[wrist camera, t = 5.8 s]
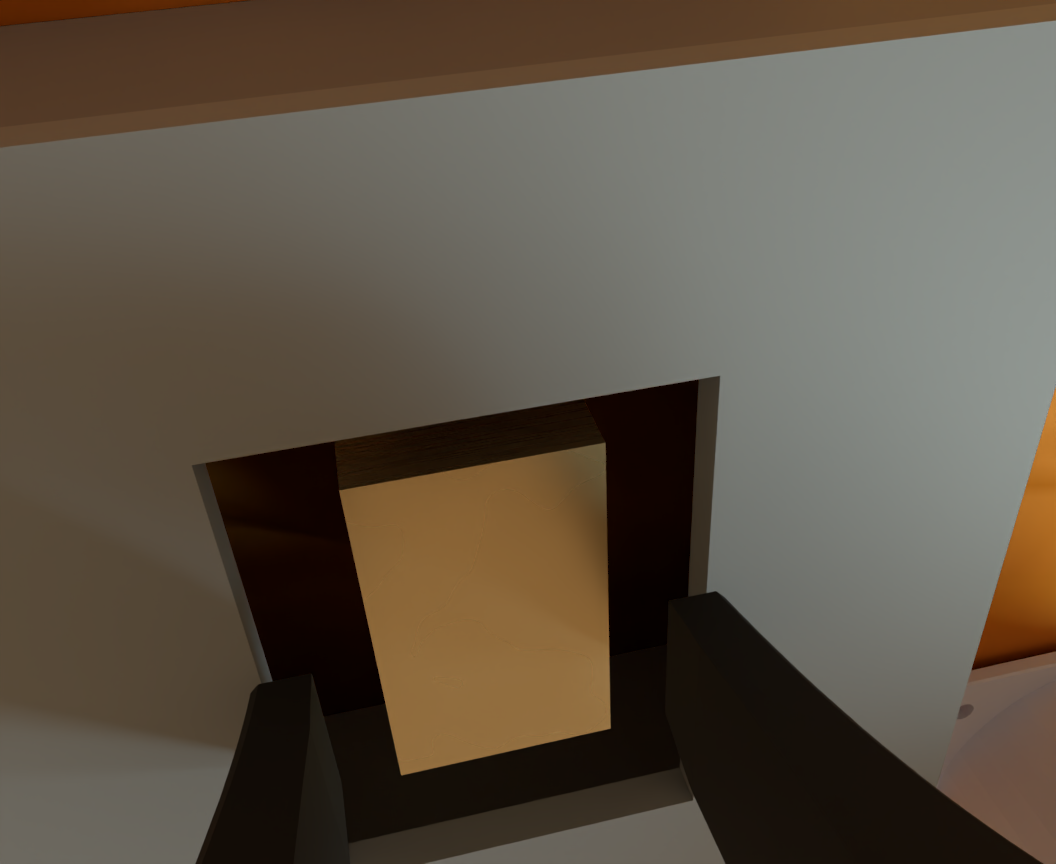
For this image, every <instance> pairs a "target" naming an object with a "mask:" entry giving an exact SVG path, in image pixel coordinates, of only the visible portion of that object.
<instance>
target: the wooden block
mask: <svg viewBox="0 0 1056 864" xmlns="http://www.w3.org/2000/svg"><path fill="white" fill-rule="evenodd" d="M334 443H335V454H336V464H337V474H338V485H339V493H340V497H341V502H342V506H343V511H344V516H345V520H346V525H347V529H348V534H349V538H350V543H351V548H352V552H353V557H354V561H355V566H356V571H357V575H358V580H359V584H360V589H361V593H362V598H363V603H364V607H365V612H366V616H367V621H368V626H369V630H370V635H371V639H372V644H373V649H374V653H375V658H376V662H377V667H378V671H379V676H380V681H381V685H382V690H383V694H384V699H385V704H386V708H387V713H388V717H389V722H390V726H391V731H392V736H393V740H394V745H395V749H396V754H397V759H398V763H399V768H400V772H401V775H405V774H410V773H414V772H419V771H423V770H428V769H432V768H437V767H441V766H446V765H450V764H455V763H459V762H464V761H468V760H472V759H477V758H481V757H486V756H490V755H495V754H499V753H504V752H508V751H513V750H517V749H522V748H526V747H531V746H535V745H540V744H544V743H548V742H553V741H557V740H562V739H566V738H571V737H575V736H580V735H584V734H589V733H593V732H598V731H602V730H607V729H611V722H610V665H609V609H608V552H607V496H606V443H605V441H604V439H603V437H602V435H601V433H600V431H599V429H598V427H597V425H596V423H595V421H594V419H593V417H592V415H591V413H590V411H589V409H588V407H587V405H586V403H585V401H584V399H579V400H574V401H568V402H562V403H556V404H550V405H544V406H538V407H532V408H526V409H520V410H515V411H509V412H503V413H497V414H491V415H485V416H479V417H473V418H467V419H462V420H456V421H450V422H444V423H438V424H432V425H426V426H420V427H414V428H409V429H403V430H397V431H391V432H385V433H379V434H373V435H367V436H361V437H355V438H350V439H344V440H338V441H334Z"/></svg>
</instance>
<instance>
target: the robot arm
mask: <svg viewBox="0 0 1056 864" xmlns="http://www.w3.org/2000/svg"><path fill="white" fill-rule="evenodd" d="M665 714H666V717H667V720H668V723H669V726H670V729H671V732H672V735H673V738H674V741H675V744H676V747H677V750H678V753H679V756H680V759H681V762H682V765H683V768H684V771H685V773H686V776H687V779H688V782H689V785H690V788H691V790H692V793H693V795H694V797H695V799H696V801H697V804H698V806H699V808H700V810H701V812H702V815H703V817H704V819H705V821H706V823H707V825H708V827H709V830H710V832H711V834H712V836H713V838H714V840H715V843H716V845H717V847H718V849H719V851H720V853H721V855H722V858H723V860H724V862H725V864H1056V651H1055V652H1050V653H1046V654H1042V655H1037V656H1033V657H1028V658H1024V659H1019V660H1015V661H1010V662H1006V663H1001V664H997V665H993V666H988V667H984V668H979V669H975V670H971V673H970V676H969V680H968V683H967V686H966V690H965V693H964V696H963V700H962V703H961V706H960V710H959V713H958V717H957V720H956V723H955V727H954V730H953V733H952V737H951V740H950V743H949V747H948V750H947V754H946V757H945V760H944V764H943V767H942V770H941V774H940V777H939V781H938V784H937V787H935V786H933V785H932V784H931V783H929V782H928V781H927V780H925V779H924V778H923V777H922V776H920V775H919V774H918V773H917V772H915V771H914V770H913V769H912V768H910V767H909V766H908V765H907V764H905V763H904V762H903V761H902V760H901V759H899V758H898V757H897V756H896V755H894V754H893V753H892V752H891V751H889V750H888V749H887V748H886V747H884V746H883V745H882V744H881V743H880V742H879V741H877V740H876V739H875V738H874V737H873V736H871V735H870V734H869V733H868V732H867V731H866V730H864V729H863V728H862V727H861V726H860V725H859V724H857V723H856V722H855V721H854V720H853V719H852V718H851V717H850V716H848V715H847V714H846V713H845V712H844V711H843V710H842V709H841V708H839V707H838V706H837V705H836V704H835V703H834V702H833V701H832V700H830V699H829V698H828V697H827V696H826V695H825V694H824V693H823V692H821V691H820V690H819V689H818V688H817V687H816V686H815V685H814V684H813V683H812V682H811V681H809V680H808V679H807V678H806V677H805V676H804V675H803V674H802V673H801V672H800V671H799V670H798V669H797V668H796V667H795V666H793V665H792V664H791V663H790V662H789V661H788V660H787V659H786V658H785V657H784V656H783V655H782V654H781V653H780V652H779V651H778V650H777V649H776V648H775V647H774V646H773V645H772V644H771V643H770V642H769V641H768V640H767V639H766V638H765V637H764V636H763V635H762V634H760V633H759V632H758V631H757V630H756V629H755V628H754V627H753V626H752V625H751V624H750V622H749V621H748V620H747V619H746V618H745V617H744V616H743V615H742V614H741V613H740V612H739V611H738V610H737V609H736V608H735V607H734V606H733V605H732V604H731V603H730V602H729V601H728V600H727V599H726V598H725V597H724V596H723V595H721V594H720V593H718V592H717V591H714V592H709V593H704V594H699V595H694V596H689V597H684V598H680V599H675V600H670V601H669V604H668V634H667V664H666V693H665ZM195 864H350V858H349V848H348V838H347V828H346V819H345V809H344V800H343V790H342V782H341V778H340V775H339V771H338V768H337V764H336V760H335V757H334V753H333V749H332V746H331V742H330V738H329V735H328V731H327V727H326V724H325V720H324V716H323V713H322V709H321V705H320V702H319V698H318V694H317V691H316V687H315V683H314V680H313V676H312V673H311V674H306V675H301V676H296V677H291V678H286V679H281V680H276V681H271V682H266V683H261V684H258V685H257V686H256V687H255V688H254V690H253V691H252V692H251V693H250V697H249V702H248V706H247V710H246V715H245V718H244V722H243V726H242V729H241V733H240V737H239V740H238V744H237V747H236V750H235V754H234V757H233V760H232V763H231V766H230V769H229V772H228V775H227V778H226V781H225V784H224V787H223V790H222V793H221V796H220V799H219V802H218V805H217V807H216V810H215V813H214V815H213V818H212V821H211V823H210V826H209V829H208V831H207V834H206V837H205V839H204V842H203V845H202V847H201V850H200V853H199V855H198V858H197V861H196V863H195Z"/></svg>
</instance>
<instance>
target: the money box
mask: <svg viewBox="0 0 1056 864" xmlns="http://www.w3.org/2000/svg"><path fill="white" fill-rule="evenodd" d="M697 379H699V384H698V405H697V425H696V445H695V466H694V486H693V506H692V527H691V547H690V567H689V588H688V597H689V596H694V595H699V594H704V593H709V592H714V591H717V592H718V593H720V594H721V595H723V596H724V597H725V598H726V599H727V600H728V601H729V602H730V603H731V604H732V605H733V606H734V607H735V608H736V609H737V610H738V611H739V612H740V613H741V614H742V615H743V616H744V617H745V618H746V619H747V620H748V621H749V622H750V624H751V625H752V626H753V627H754V628H755V629H756V630H757V631H758V632H759V633H760V634H762V635H763V636H764V637H765V638H766V639H767V640H768V641H769V642H770V643H771V644H772V645H773V646H774V647H775V648H776V649H777V650H778V651H779V652H780V653H781V654H782V655H783V656H784V657H785V658H786V659H787V660H788V661H789V662H790V663H791V664H792V665H793V666H795V667H796V668H797V669H798V670H799V671H800V672H801V673H802V674H803V675H804V676H805V677H806V678H807V679H808V680H809V681H811V682H812V683H813V684H814V685H815V686H816V687H817V688H818V689H819V690H820V691H821V692H823V693H824V694H825V695H826V696H827V697H828V698H829V699H830V700H832V701H833V702H834V703H835V704H836V705H837V706H838V707H839V708H841V709H842V710H843V711H844V712H845V713H846V714H847V715H848V716H850V717H851V718H852V719H853V720H854V721H855V722H856V723H857V724H859V725H860V726H861V727H862V728H863V729H864V730H866V731H867V732H868V733H869V734H870V735H871V736H873V737H874V738H875V739H876V740H877V741H879V742H880V743H881V744H882V745H883V746H884V747H886V748H887V749H888V750H889V751H891V752H892V753H893V754H894V755H896V756H897V757H898V758H899V759H901V760H902V761H903V762H904V763H905V764H907V765H908V766H909V767H910V768H912V769H913V770H914V771H915V772H917V773H918V774H919V775H920V776H922V777H923V778H924V779H925V780H927V781H928V782H929V783H931V784H932V785H933V786H935V787H937V784H938V781H939V777H940V774H941V770H942V767H943V764H944V760H945V757H946V754H947V750H948V747H949V743H950V740H951V737H952V733H953V730H954V727H955V723H956V720H957V717H958V713H959V710H960V706H961V703H962V700H963V696H964V693H965V690H966V686H967V683H968V680H969V676H970V673H971V669H972V666H973V663H974V659H975V656H976V653H977V649H978V646H979V642H980V639H981V636H982V632H983V629H984V626H985V622H986V619H987V616H988V612H989V609H990V605H991V602H992V599H993V595H994V592H995V589H996V585H997V582H998V579H999V575H1000V572H1001V568H1002V565H1003V562H1004V558H1005V555H1006V552H1007V548H1008V545H1009V541H1010V538H1011V535H1012V531H1013V528H1014V525H1015V521H1016V518H1017V515H1018V511H1019V508H1020V504H1021V501H1022V498H1023V494H1024V491H1025V488H1026V484H1027V481H1028V478H1029V474H1030V471H1031V467H1032V464H1033V461H1034V457H1035V454H1036V451H1037V447H1038V444H1039V441H1040V437H1041V434H1042V430H1043V427H1044V424H1045V420H1046V417H1047V414H1048V410H1049V407H1050V403H1051V400H1052V397H1053V393H1054V390H1055V387H1056V0H250V1H240V2H231V3H221V4H211V5H201V6H192V7H182V8H172V9H163V10H153V11H143V12H134V13H124V14H114V15H105V16H95V17H85V18H76V19H66V20H56V21H47V22H37V23H27V24H18V25H8V26H0V864H195V863H196V861H197V858H198V855H199V853H200V850H201V847H202V845H203V842H204V839H205V837H206V834H207V831H208V829H209V826H210V823H211V821H212V818H213V815H214V813H215V810H216V807H217V805H218V802H219V799H220V796H221V793H222V790H223V787H224V784H225V781H226V778H227V775H228V772H229V769H230V766H231V763H232V760H233V757H234V754H235V750H236V747H237V744H238V740H239V737H240V733H241V729H242V726H243V722H244V718H245V715H246V710H247V706H248V702H249V697H250V693H251V692H252V691H253V690H254V688H255V687H256V686H257V685H258V684H261V683H266V682H271V681H272V678H271V674H270V671H269V668H268V665H267V661H266V658H265V655H264V652H263V649H262V645H261V642H260V639H259V636H258V632H257V629H256V626H255V623H254V619H253V616H252V613H251V610H250V607H249V603H248V600H247V597H246V594H245V590H244V587H243V584H242V581H241V577H240V574H239V571H238V568H237V565H236V561H235V558H234V555H233V552H232V548H231V545H230V542H229V539H228V535H227V532H226V529H225V526H224V523H223V519H222V516H221V513H220V510H219V506H218V503H217V500H216V497H215V494H214V490H213V487H212V484H211V481H210V477H209V474H208V471H207V468H206V464H205V463H208V462H214V461H220V460H226V459H232V458H238V457H243V456H249V455H255V454H261V453H267V452H273V451H279V450H285V449H291V448H297V447H302V446H308V445H314V444H320V443H326V442H332V441H338V440H344V439H350V438H355V437H361V436H367V435H373V434H379V433H385V432H391V431H397V430H403V429H409V428H414V427H420V426H426V425H432V424H438V423H444V422H450V421H456V420H462V419H467V418H473V417H479V416H485V415H491V414H497V413H503V412H509V411H515V410H520V409H526V408H532V407H538V406H544V405H550V404H556V403H562V402H568V401H574V400H579V399H585V398H591V397H597V396H603V395H609V394H615V393H621V392H627V391H632V390H638V389H644V388H650V387H656V386H662V385H668V384H674V383H680V382H686V381H691V380H697ZM666 664H667V645H662V646H657V647H653V648H648V649H643V650H638V651H633V652H629V653H624V654H619V655H614V656H610V657H609V665H610V722H611V729H607V730H602V731H598V732H593V733H589V734H584V735H580V736H575V737H571V738H566V739H562V740H557V741H553V742H548V743H544V744H540V745H535V746H531V747H526V748H522V749H517V750H513V751H508V752H504V753H499V754H495V755H490V756H486V757H481V758H477V759H472V760H468V761H464V762H459V763H455V764H450V765H446V766H441V767H437V768H432V769H428V770H423V771H419V772H414V773H410V774H405V775H401V772H400V768H399V763H398V759H397V754H396V749H395V745H394V740H393V736H392V731H391V726H390V722H389V717H388V713H387V708H386V704H381V705H376V706H372V707H367V708H362V709H357V710H353V711H348V712H343V713H338V714H333V715H329V716H324V720H325V724H326V727H327V731H328V735H329V738H330V742H331V746H332V749H333V753H334V757H335V760H336V764H337V768H338V771H339V775H340V778H341V782H342V790H343V800H344V809H345V819H346V828H347V838H348V848H349V858H350V864H725V862H724V860H723V858H722V855H721V853H720V851H719V849H718V847H717V845H716V843H715V840H714V838H713V836H712V834H711V832H710V830H709V827H708V825H707V823H706V821H705V819H704V817H703V815H702V812H701V810H700V808H699V806H698V804H697V801H696V799H695V797H694V795H693V793H692V790H691V788H690V785H689V782H688V779H687V776H686V773H685V771H684V768H683V765H682V762H681V759H680V756H679V753H678V750H677V747H676V744H675V741H674V738H673V735H672V732H671V729H670V726H669V723H668V720H667V717H666V714H665V693H666Z"/></svg>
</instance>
